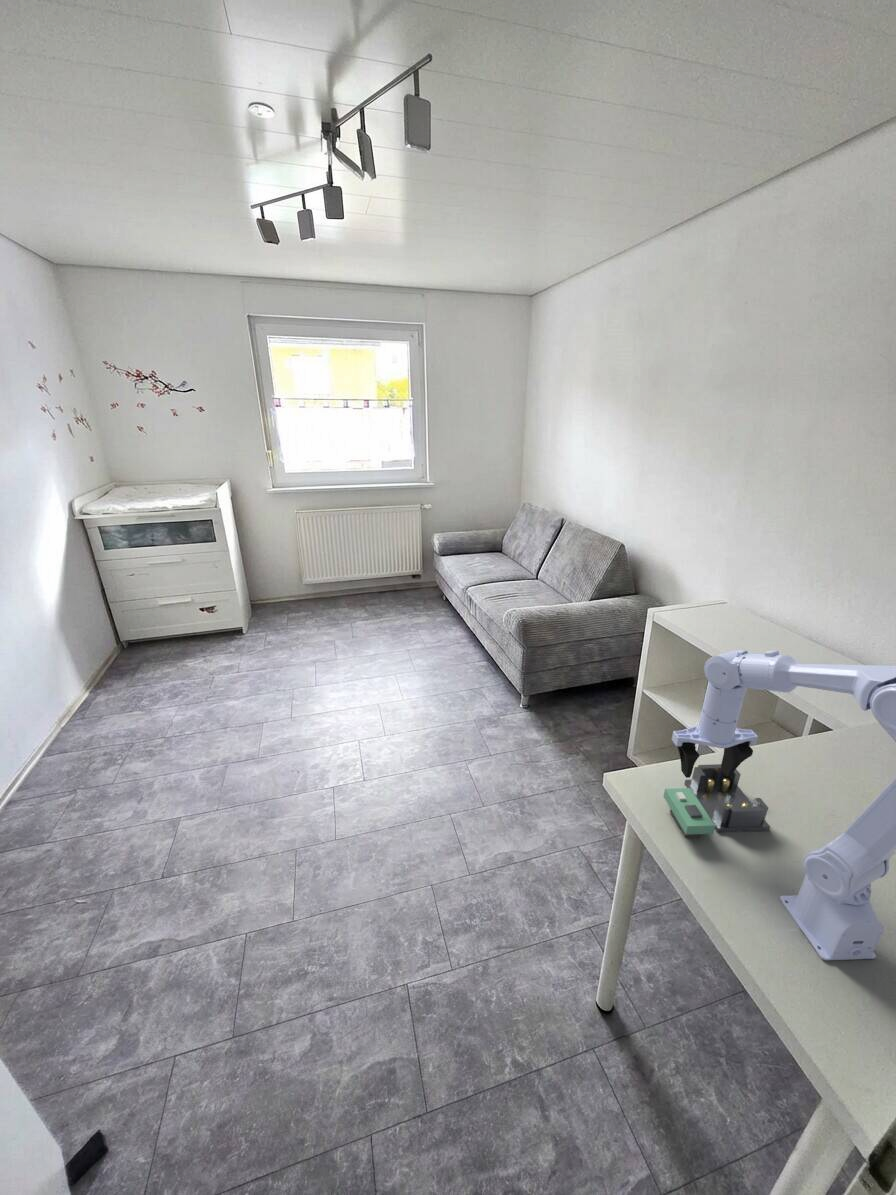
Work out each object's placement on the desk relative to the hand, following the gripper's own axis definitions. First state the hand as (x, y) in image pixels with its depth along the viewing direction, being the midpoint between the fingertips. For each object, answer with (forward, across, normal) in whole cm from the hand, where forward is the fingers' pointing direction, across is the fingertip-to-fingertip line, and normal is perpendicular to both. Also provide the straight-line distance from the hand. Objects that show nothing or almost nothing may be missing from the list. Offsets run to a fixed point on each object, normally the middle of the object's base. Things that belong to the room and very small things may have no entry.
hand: (705, 773), depth 90 cm
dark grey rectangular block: (+10, +3, +2) cm, 11 cm away
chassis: (+10, -6, -2) cm, 12 cm away
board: (+7, +3, +2) cm, 9 cm away
